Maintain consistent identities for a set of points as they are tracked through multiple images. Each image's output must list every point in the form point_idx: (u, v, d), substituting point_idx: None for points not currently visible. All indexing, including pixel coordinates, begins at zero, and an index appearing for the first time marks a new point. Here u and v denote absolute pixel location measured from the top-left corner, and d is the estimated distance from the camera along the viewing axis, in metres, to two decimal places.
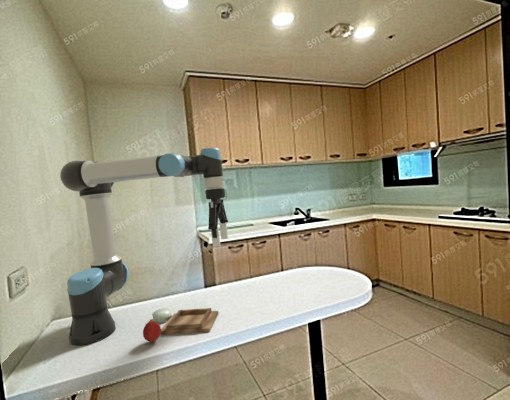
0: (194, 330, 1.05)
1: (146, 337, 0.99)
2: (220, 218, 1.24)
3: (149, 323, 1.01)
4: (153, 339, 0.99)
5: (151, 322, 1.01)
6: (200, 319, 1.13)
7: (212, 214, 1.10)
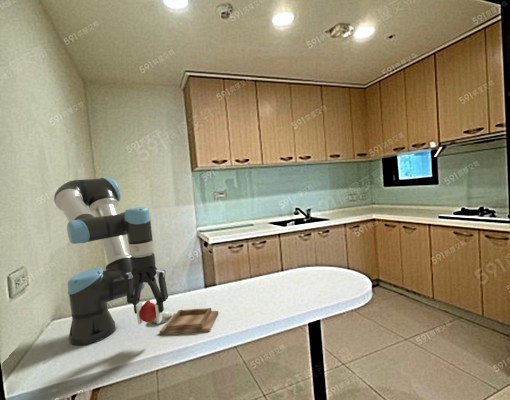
0: (194, 330, 1.05)
1: (143, 317, 0.99)
2: None
3: (146, 304, 1.00)
4: (150, 319, 1.00)
5: (148, 303, 1.01)
6: (200, 319, 1.13)
7: None
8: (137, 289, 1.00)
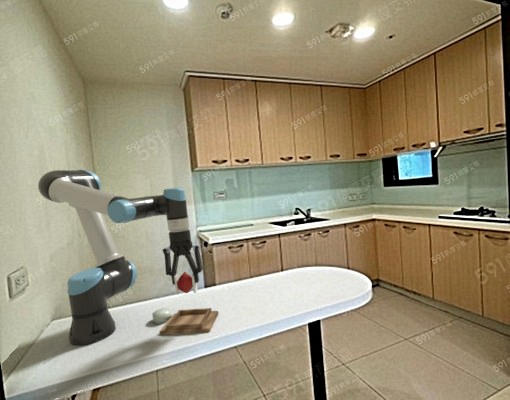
0: (194, 330, 1.05)
1: (181, 287, 1.09)
2: None
3: (183, 275, 1.11)
4: (187, 289, 1.10)
5: (185, 274, 1.11)
6: (200, 319, 1.13)
7: None
8: (175, 262, 1.10)
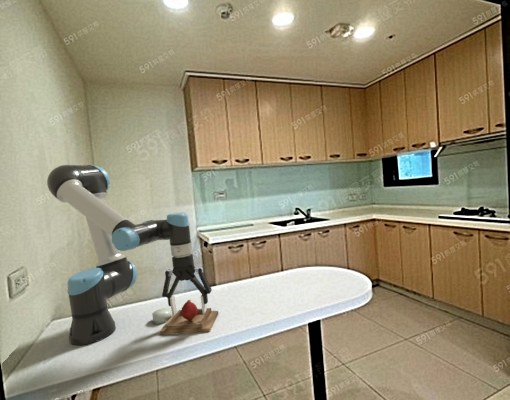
0: (194, 330, 1.05)
1: (185, 315, 1.10)
2: None
3: (187, 303, 1.11)
4: (191, 317, 1.10)
5: (189, 302, 1.11)
6: (200, 319, 1.13)
7: None
8: (174, 285, 1.11)
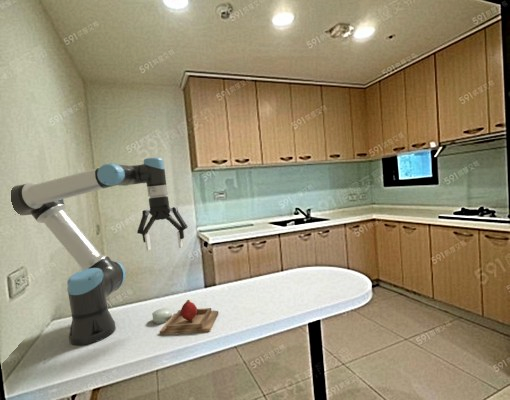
0: (194, 330, 1.05)
1: (184, 315, 1.10)
2: None
3: (186, 303, 1.11)
4: (190, 317, 1.10)
5: (188, 302, 1.11)
6: (200, 319, 1.13)
7: None
8: (150, 223, 1.22)
